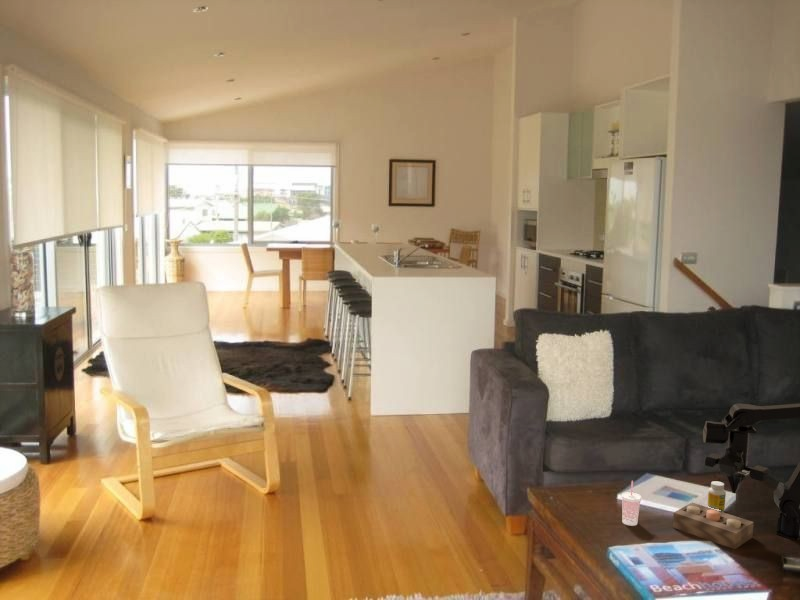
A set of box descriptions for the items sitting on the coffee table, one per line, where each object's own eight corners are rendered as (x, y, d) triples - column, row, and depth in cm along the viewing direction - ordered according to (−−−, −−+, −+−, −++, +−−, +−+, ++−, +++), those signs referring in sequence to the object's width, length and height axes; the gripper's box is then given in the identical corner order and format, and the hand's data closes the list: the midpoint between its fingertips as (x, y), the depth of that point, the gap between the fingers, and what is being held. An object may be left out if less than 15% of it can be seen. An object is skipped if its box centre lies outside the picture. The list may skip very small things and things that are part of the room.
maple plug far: (701, 523, 255) (702, 508, 255) (695, 527, 253) (696, 512, 252) (689, 519, 258) (690, 504, 257) (683, 522, 255) (684, 508, 255)
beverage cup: (640, 527, 254) (643, 485, 251) (620, 525, 255) (623, 483, 253) (638, 519, 260) (641, 478, 257) (619, 517, 261) (621, 476, 259)
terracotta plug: (721, 527, 250) (722, 512, 250) (715, 531, 248) (716, 516, 247) (709, 523, 253) (710, 508, 253) (703, 527, 251) (704, 512, 250)
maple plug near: (741, 537, 246) (743, 521, 245) (736, 541, 243) (737, 525, 242) (729, 532, 249) (730, 517, 248) (723, 536, 246) (724, 521, 245)
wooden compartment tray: (752, 537, 248) (753, 522, 247) (734, 549, 240) (736, 533, 239) (691, 516, 262) (692, 502, 261) (672, 527, 254) (673, 512, 253)
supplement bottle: (711, 506, 271) (713, 479, 270) (727, 511, 267) (729, 483, 266) (704, 510, 267) (706, 483, 266) (719, 515, 264) (722, 487, 262)
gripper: (697, 443, 250) (693, 490, 253) (757, 458, 237) (753, 509, 239) (713, 435, 258) (710, 482, 260) (773, 450, 245) (768, 499, 247)
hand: (734, 492), depth 252 cm, fingers closed
